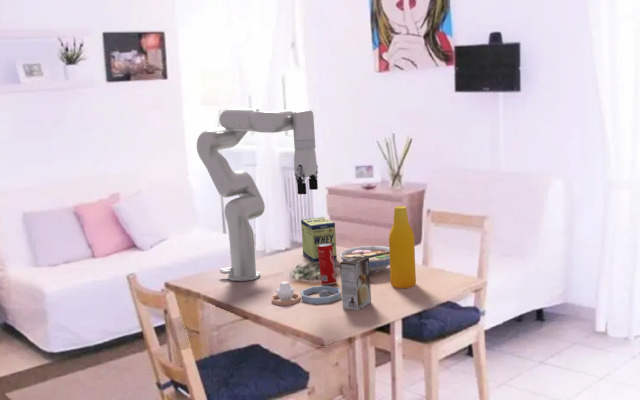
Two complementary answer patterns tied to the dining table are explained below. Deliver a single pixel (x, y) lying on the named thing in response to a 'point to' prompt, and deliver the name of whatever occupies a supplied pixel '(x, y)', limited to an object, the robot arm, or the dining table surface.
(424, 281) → the dining table surface
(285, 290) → the white steamed bun
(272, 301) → the terracotta ring
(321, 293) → the grey ball
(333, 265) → the beverage can
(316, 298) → the slate ring
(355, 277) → the coffee box
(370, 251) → the ramen bowl
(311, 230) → the protein box
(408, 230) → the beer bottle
